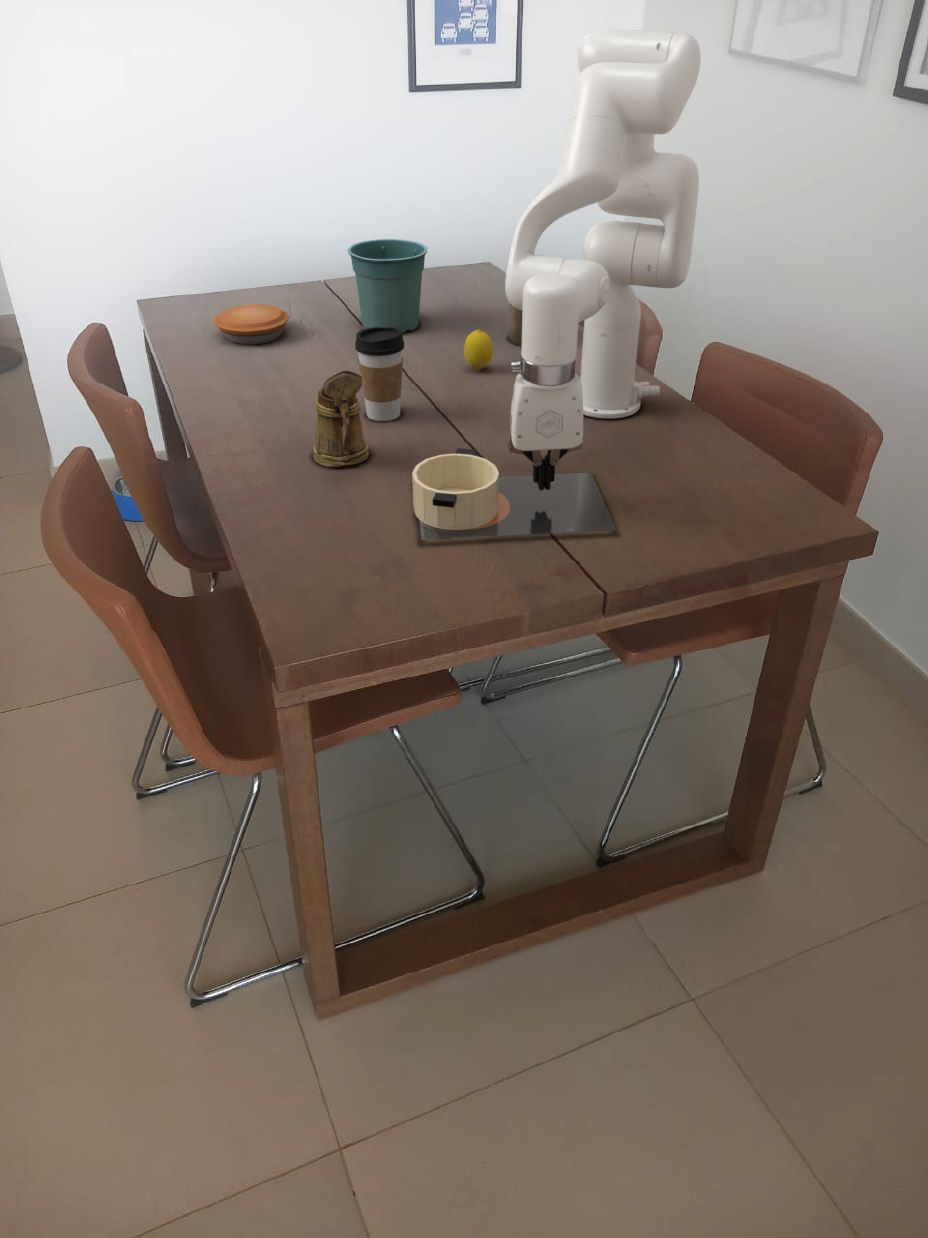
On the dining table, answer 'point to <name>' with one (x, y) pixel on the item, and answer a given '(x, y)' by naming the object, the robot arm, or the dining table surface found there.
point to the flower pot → (389, 281)
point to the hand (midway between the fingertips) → (543, 485)
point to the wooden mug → (340, 422)
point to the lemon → (478, 349)
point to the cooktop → (539, 509)
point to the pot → (456, 490)
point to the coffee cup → (381, 370)
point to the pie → (252, 323)
